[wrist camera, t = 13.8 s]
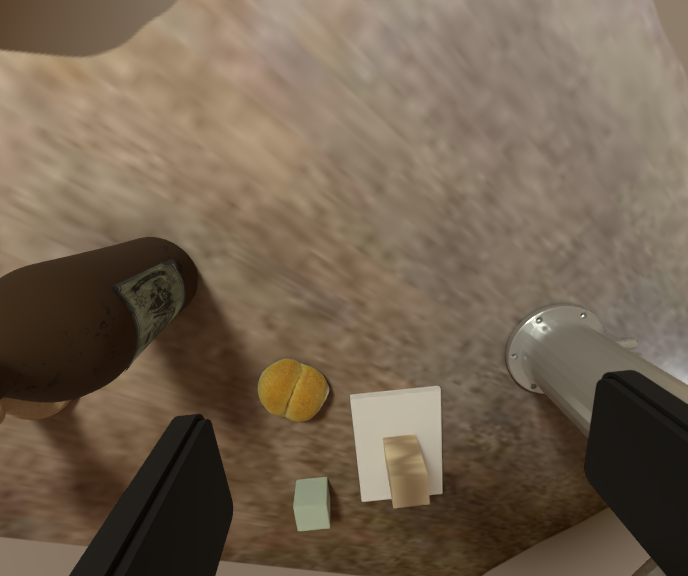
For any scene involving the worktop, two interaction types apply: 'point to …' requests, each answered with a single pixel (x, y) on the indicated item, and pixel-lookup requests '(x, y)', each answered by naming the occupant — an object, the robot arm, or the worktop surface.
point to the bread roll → (292, 390)
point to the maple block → (406, 471)
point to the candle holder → (29, 409)
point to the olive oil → (87, 316)
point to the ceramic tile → (396, 434)
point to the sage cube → (312, 504)
